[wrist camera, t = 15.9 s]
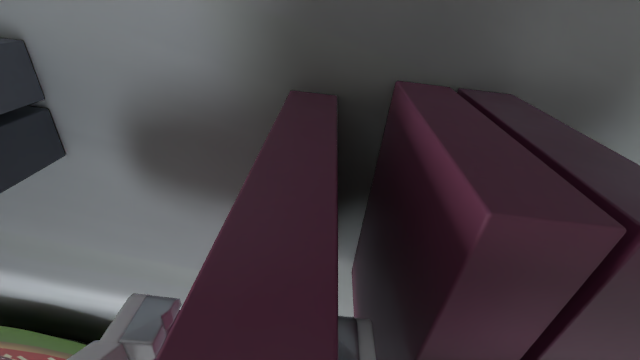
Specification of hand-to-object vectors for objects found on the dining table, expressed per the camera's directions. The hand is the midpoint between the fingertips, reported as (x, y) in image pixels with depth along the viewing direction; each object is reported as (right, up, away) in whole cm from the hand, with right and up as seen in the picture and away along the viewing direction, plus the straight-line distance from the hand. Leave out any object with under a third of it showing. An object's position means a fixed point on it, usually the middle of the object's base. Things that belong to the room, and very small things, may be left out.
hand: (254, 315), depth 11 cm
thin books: (+8, +4, +8) cm, 12 cm away
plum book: (+1, +4, +8) cm, 9 cm away
